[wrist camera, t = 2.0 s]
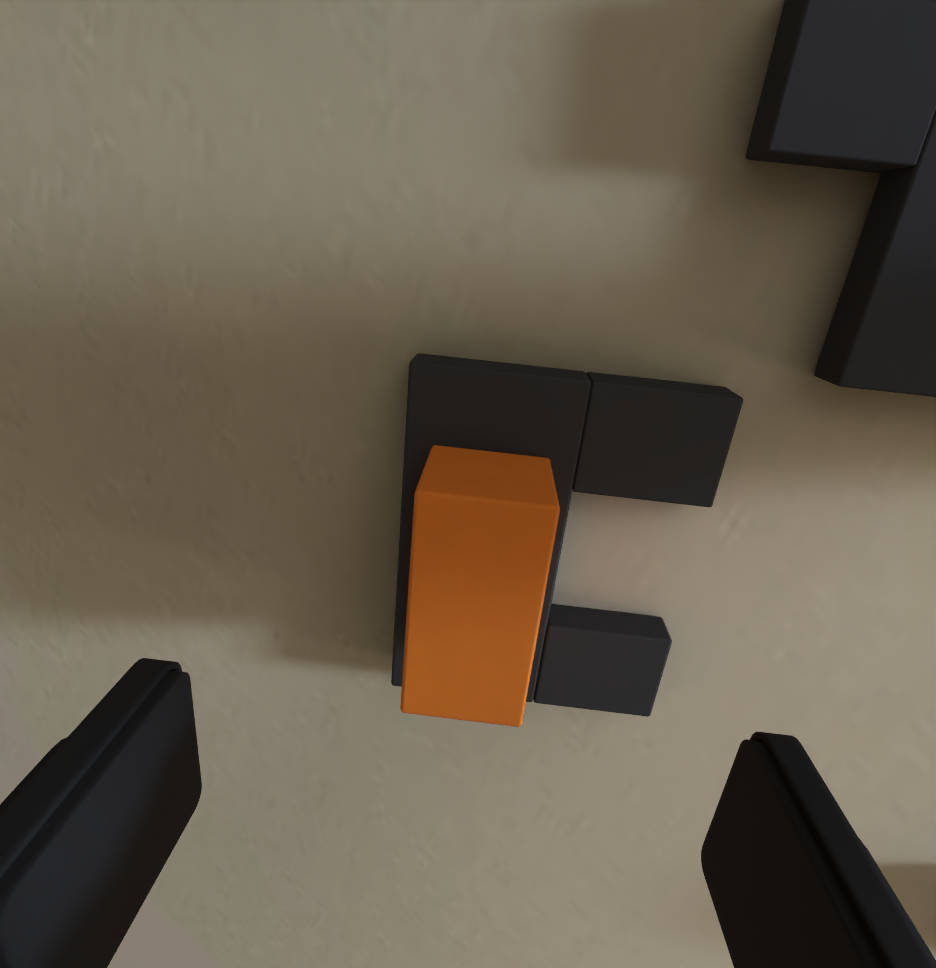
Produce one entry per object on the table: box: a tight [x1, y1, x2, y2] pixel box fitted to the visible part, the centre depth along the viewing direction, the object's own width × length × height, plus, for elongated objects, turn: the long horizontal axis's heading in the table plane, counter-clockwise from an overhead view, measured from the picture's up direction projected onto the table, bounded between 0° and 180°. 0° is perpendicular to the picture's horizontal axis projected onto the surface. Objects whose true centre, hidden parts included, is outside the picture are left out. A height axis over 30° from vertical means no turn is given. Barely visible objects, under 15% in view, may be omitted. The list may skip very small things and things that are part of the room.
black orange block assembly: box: [391, 353, 743, 727], centre depth 15 cm, size 10×8×4 cm
